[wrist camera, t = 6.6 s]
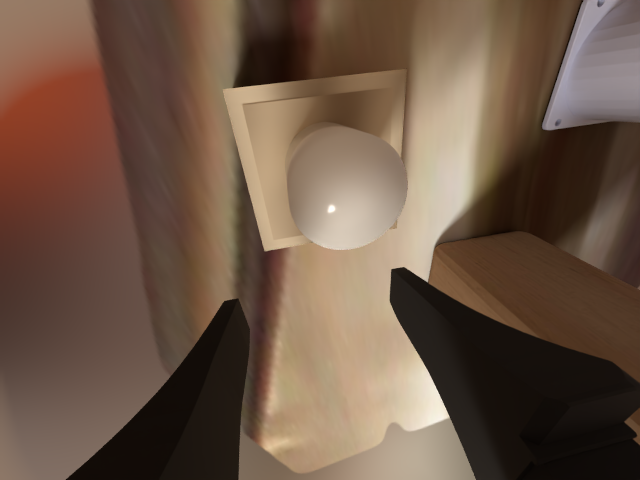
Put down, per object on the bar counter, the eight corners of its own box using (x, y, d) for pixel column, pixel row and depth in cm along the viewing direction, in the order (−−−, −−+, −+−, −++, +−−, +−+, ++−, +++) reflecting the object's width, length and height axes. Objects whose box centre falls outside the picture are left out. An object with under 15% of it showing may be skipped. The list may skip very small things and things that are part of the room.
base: (385, 73, 16) (407, 68, 13) (381, 212, 21) (396, 228, 18) (231, 91, 15) (222, 89, 13) (265, 232, 20) (264, 251, 18)
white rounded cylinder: (368, 122, 14) (419, 132, 9) (359, 203, 17) (396, 246, 12) (282, 120, 14) (285, 130, 9) (286, 205, 16) (290, 252, 11)
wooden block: (524, 225, 25) (1102, 513, 7) (496, 298, 30) (802, 571, 12) (431, 240, 24) (850, 614, 6) (418, 314, 29) (634, 632, 11)
